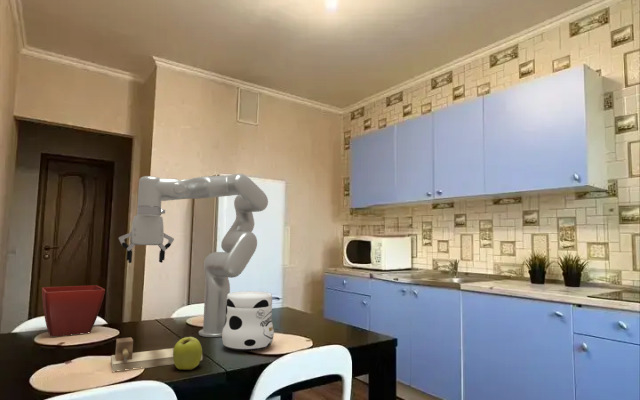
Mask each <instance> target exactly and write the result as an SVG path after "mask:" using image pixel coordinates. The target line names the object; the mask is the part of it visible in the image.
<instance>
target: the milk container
mask: <svg viewBox="0 0 640 400" xmlns="http://www.w3.org/2000/svg"><path fill="white" fill-rule="evenodd" d="M226 304H227V305H226V320H225V324H224V327H223V331H222V337H221V340H222V344H223V347H225V348H227V349H228V350H231V351H234V352H235V351H236V352H256V351H259V350H264V349H266V348H269V347H270V346H271V344H273V341H274V337H275V336H274V334H275V333H274V332H275V331H274V326H273V325H274V324H273V321H272V319H273V318H272V316H273V315H272V312H273V311H272V309H273V306H272V305H273V296H272V293H270V292H268V291H253V290H252V291H249V290H247V291H236V292H235V291H234V292H230V293H229V294H228V295H227V300H226Z"/></svg>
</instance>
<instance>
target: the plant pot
mask: <svg viewBox="0 0 640 400" xmlns="http://www.w3.org/2000/svg"><path fill="white" fill-rule="evenodd" d="M105 291H106V289H105V288H103V287H101V286H99V285H97V284H96V285H92V284H91V285H73V286H72V285H68V286H45V287H44V286H43V287H41V297H42V299H41V300H42V309H43V315H44V320H45V324H46V325H45V326H46V329H47V332H48V334H49V335H48V336H49V337H50V336H57V337H64V336H63V335H67V336H72V335H71V334H77V335H81V334H80V333H87V334H89V333H88V332H90V333H91V332H92V330H93V328H94V325H95V323H96V320H97V318H98V315H99V313H100V310H101V307H102V303H103V300H104V296H105V293H106V292H105Z"/></svg>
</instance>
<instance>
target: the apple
mask: <svg viewBox="0 0 640 400" xmlns="http://www.w3.org/2000/svg"><path fill="white" fill-rule="evenodd" d="M193 334H194V333H192V332H191V334H190V336H185V337H183V338H180V339H179V340H178V341H177V342H176V343H175V344H174V346H173V348H174V350H173V359H174V364H173V365H175V367H176V368H177V369H178V370H185V371H186V370H193V369H195V368H197V367H198V366H199V364H200V362H201V361H202V360H201V356H202V357H203V354H202V353H203V347H202V345H201V342H200V340H198V338H196V337H194V336H192V335H193ZM200 360H201V361H200Z"/></svg>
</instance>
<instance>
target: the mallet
mask: <svg viewBox="0 0 640 400" xmlns="http://www.w3.org/2000/svg"><path fill="white" fill-rule="evenodd" d="M115 341H116V342H115V354H114V355H115V358H116V361H122V360H124V361H127V360H130V359H132V353H133V349H134V339H133V338H132V337H121V338H116V339H115Z"/></svg>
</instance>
